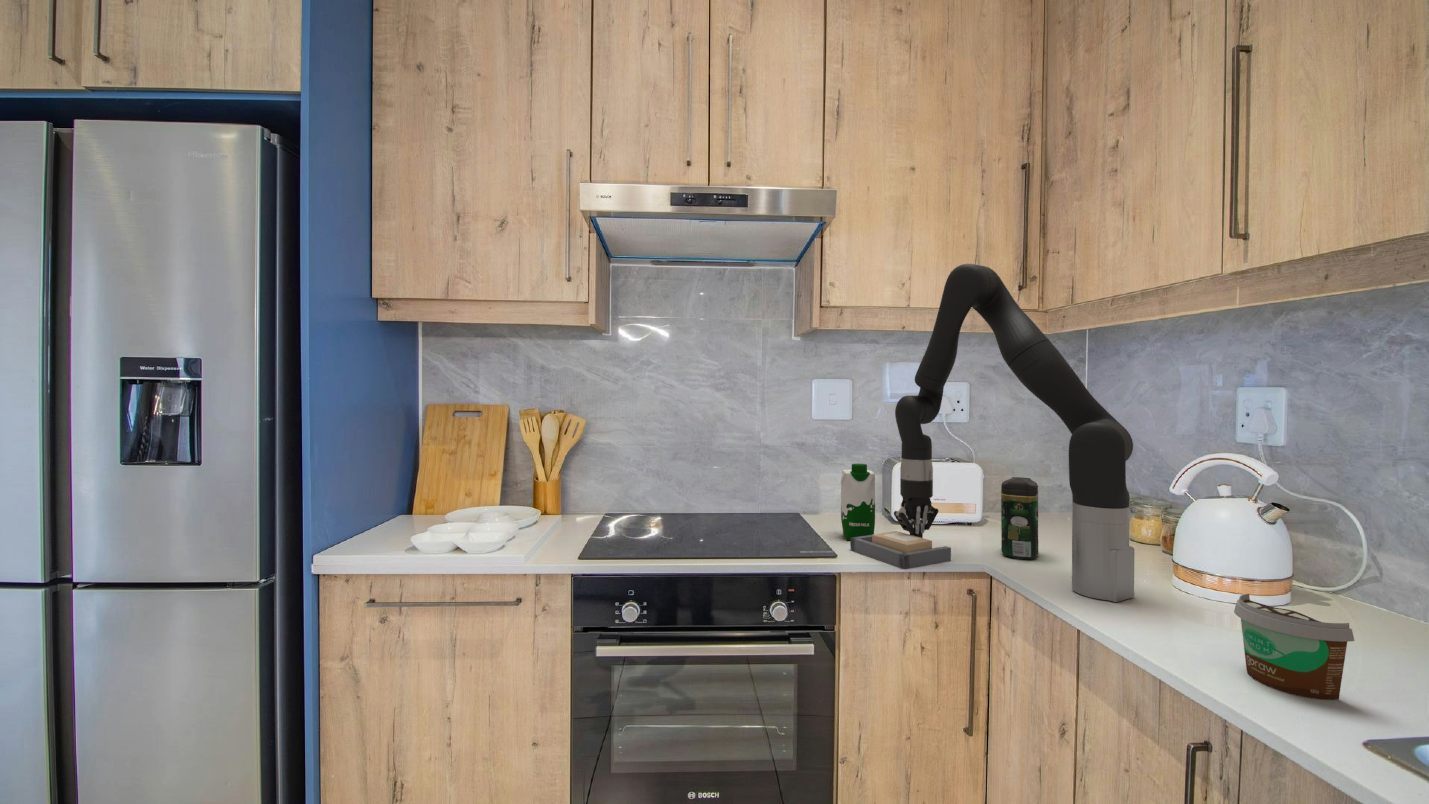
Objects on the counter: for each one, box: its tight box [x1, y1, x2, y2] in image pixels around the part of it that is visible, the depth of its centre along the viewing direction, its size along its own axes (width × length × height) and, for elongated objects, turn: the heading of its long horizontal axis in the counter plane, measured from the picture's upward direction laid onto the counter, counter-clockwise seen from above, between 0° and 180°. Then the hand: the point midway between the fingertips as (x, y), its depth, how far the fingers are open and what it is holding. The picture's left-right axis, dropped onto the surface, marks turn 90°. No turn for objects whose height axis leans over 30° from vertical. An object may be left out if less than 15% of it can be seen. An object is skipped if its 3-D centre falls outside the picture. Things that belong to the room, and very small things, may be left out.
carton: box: [872, 530, 933, 553], centre depth 139 cm, size 11×8×5 cm
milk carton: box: [840, 463, 876, 542], centre depth 158 cm, size 9×9×20 cm
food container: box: [1233, 593, 1355, 701], centre depth 78 cm, size 12×6×10 cm, turn 13°
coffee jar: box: [1000, 476, 1039, 560], centre depth 141 cm, size 10×8×19 cm
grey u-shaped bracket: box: [850, 535, 952, 570], centre depth 141 cm, size 18×14×3 cm
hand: (916, 548), depth 144 cm, fingers closed
